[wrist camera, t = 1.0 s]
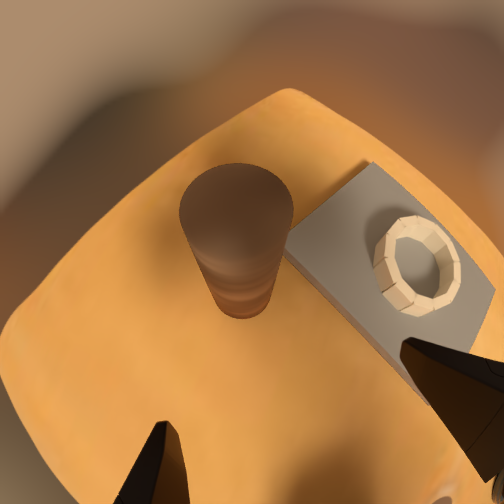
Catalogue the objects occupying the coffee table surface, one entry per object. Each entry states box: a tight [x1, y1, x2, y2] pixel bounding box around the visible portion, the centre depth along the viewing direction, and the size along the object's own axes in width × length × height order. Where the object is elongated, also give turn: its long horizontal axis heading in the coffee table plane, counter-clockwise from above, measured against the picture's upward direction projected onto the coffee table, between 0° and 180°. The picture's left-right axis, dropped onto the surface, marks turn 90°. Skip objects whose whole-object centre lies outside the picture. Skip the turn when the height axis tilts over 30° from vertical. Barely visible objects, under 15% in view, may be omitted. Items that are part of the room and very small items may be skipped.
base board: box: [283, 162, 496, 405], centre depth 22 cm, size 22×16×4 cm
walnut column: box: [179, 163, 293, 319], centre depth 18 cm, size 5×5×13 cm
